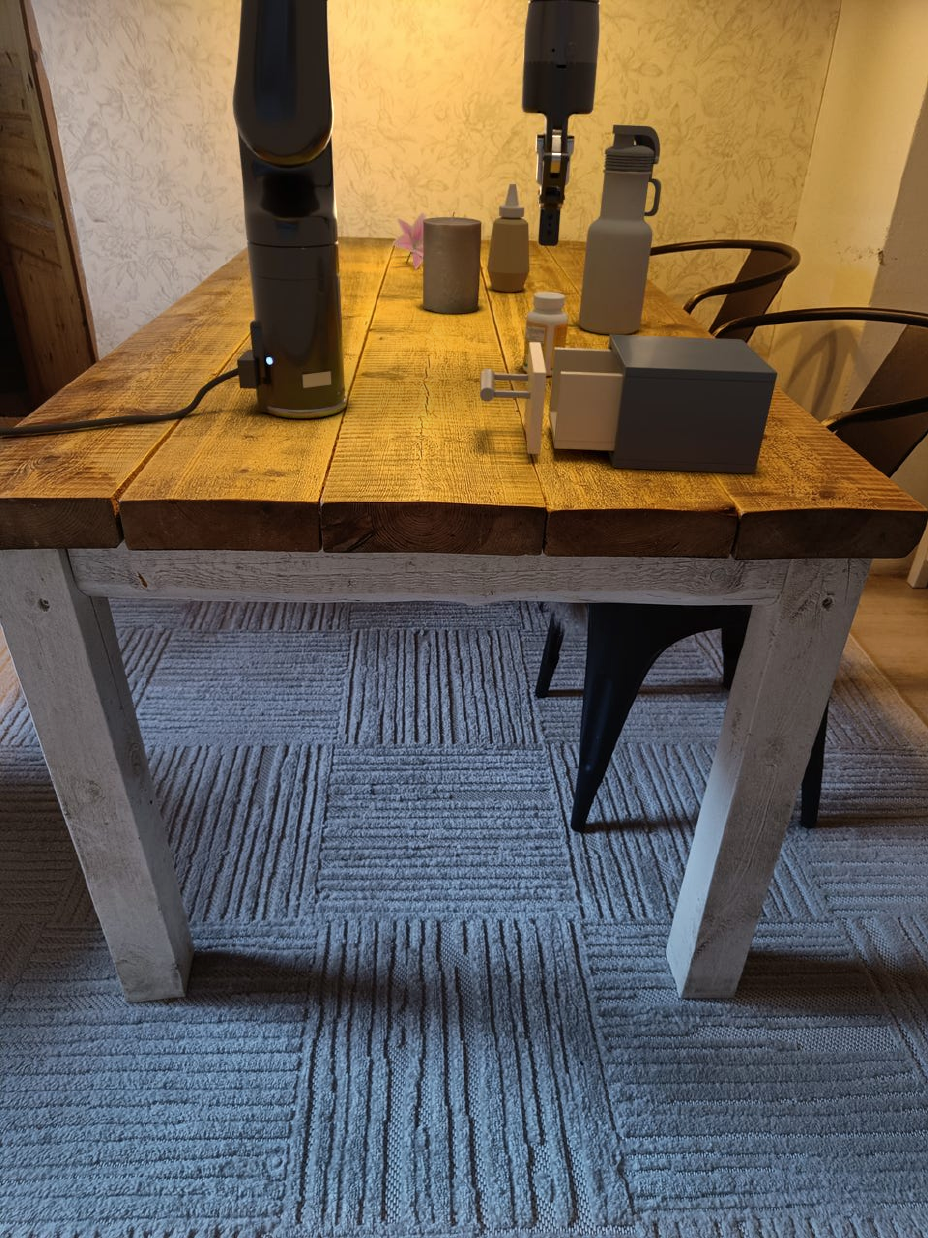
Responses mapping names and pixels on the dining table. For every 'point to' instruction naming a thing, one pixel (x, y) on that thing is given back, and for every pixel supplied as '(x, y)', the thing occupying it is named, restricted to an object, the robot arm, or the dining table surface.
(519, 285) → the squeeze bottle
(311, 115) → the robot arm
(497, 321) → the dining table surface
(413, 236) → the lily
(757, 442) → the cabinet
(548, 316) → the supplement bottle
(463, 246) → the pillar candle
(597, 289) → the water bottle
